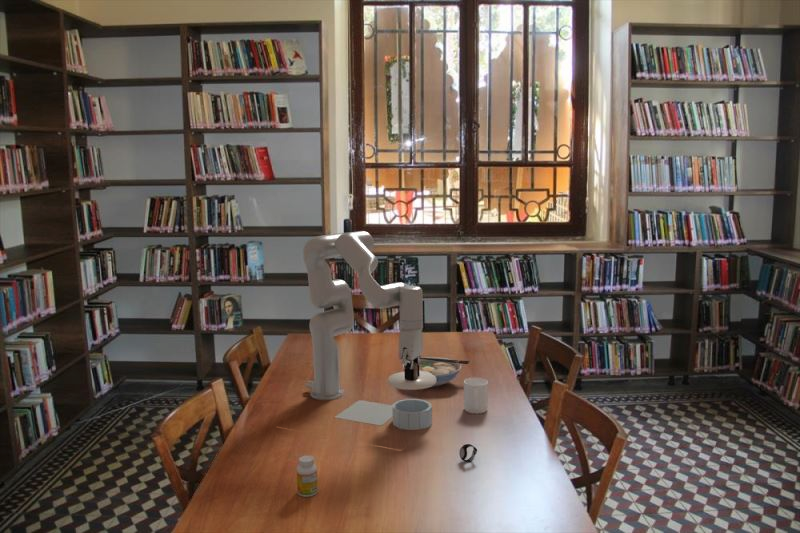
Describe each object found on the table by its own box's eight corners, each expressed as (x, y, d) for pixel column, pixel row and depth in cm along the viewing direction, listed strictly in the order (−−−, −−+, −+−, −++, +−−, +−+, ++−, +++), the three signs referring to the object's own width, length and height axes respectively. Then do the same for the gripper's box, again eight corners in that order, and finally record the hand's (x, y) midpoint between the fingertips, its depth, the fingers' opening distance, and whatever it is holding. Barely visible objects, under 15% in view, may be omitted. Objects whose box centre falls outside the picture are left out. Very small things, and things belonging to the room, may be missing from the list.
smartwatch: (459, 458, 208) (459, 442, 207) (476, 458, 208) (476, 442, 207) (460, 464, 204) (460, 448, 203) (477, 464, 204) (477, 448, 203)
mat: (334, 418, 240) (334, 417, 240) (359, 401, 256) (359, 400, 256) (381, 426, 232) (381, 425, 232) (404, 408, 248) (404, 407, 248)
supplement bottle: (298, 488, 191) (296, 454, 189) (318, 487, 191) (316, 453, 190) (296, 498, 186) (295, 463, 184) (317, 496, 186) (316, 462, 184)
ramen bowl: (391, 389, 268) (390, 368, 266) (412, 371, 289) (412, 352, 287) (453, 397, 258) (453, 376, 257) (471, 378, 279) (471, 358, 278)
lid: (379, 386, 229) (379, 368, 228) (400, 371, 243) (400, 354, 242) (425, 392, 222) (424, 374, 221) (443, 377, 236) (443, 360, 235)
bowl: (386, 426, 232) (385, 409, 231) (402, 413, 244) (402, 396, 242) (422, 433, 226) (422, 415, 225) (437, 419, 238) (437, 402, 237)
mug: (487, 418, 238) (487, 389, 236) (462, 417, 239) (462, 388, 237) (487, 405, 250) (487, 378, 248) (464, 405, 251) (464, 377, 249)
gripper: (411, 317, 238) (412, 369, 241) (389, 328, 223) (390, 384, 226) (431, 319, 235) (432, 372, 238) (411, 331, 220) (412, 387, 223)
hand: (412, 377), depth 232 cm, fingers closed on lid, 3 cm apart
